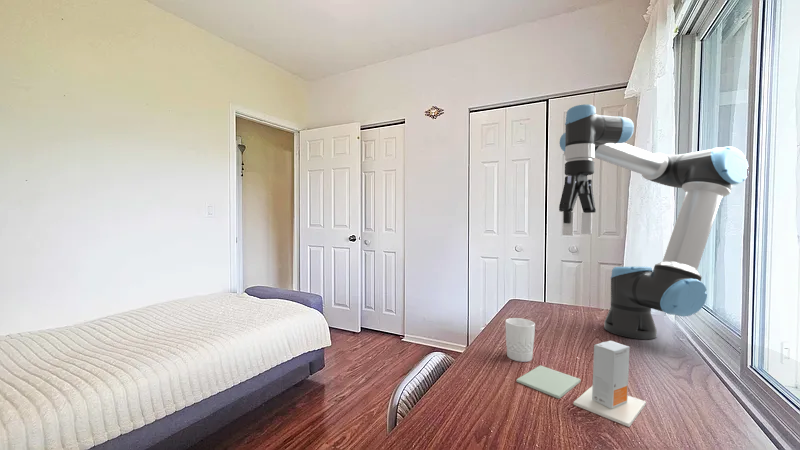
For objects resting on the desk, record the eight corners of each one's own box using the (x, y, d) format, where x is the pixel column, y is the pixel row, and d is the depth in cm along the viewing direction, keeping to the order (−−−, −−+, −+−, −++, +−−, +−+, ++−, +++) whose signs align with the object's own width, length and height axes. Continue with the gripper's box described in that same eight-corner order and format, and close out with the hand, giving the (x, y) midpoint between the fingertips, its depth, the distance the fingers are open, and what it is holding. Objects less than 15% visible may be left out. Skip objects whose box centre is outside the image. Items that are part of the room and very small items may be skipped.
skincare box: (612, 410, 68) (613, 351, 68) (591, 400, 72) (592, 344, 72) (628, 402, 71) (630, 346, 71) (608, 393, 75) (609, 339, 74)
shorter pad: (540, 367, 89) (540, 365, 89) (580, 381, 81) (580, 379, 81) (516, 381, 81) (516, 379, 81) (559, 398, 73) (559, 396, 73)
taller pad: (594, 386, 79) (594, 383, 79) (645, 404, 72) (645, 401, 72) (573, 404, 71) (573, 401, 71) (629, 427, 64) (629, 423, 64)
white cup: (536, 364, 91) (537, 327, 90) (506, 361, 92) (507, 325, 92) (531, 353, 98) (532, 318, 98) (503, 350, 100) (504, 316, 100)
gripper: (581, 167, 108) (580, 233, 109) (546, 157, 92) (545, 235, 92) (608, 164, 103) (606, 234, 103) (576, 153, 86) (574, 236, 86)
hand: (577, 234), depth 98 cm, fingers open, 13 cm apart
